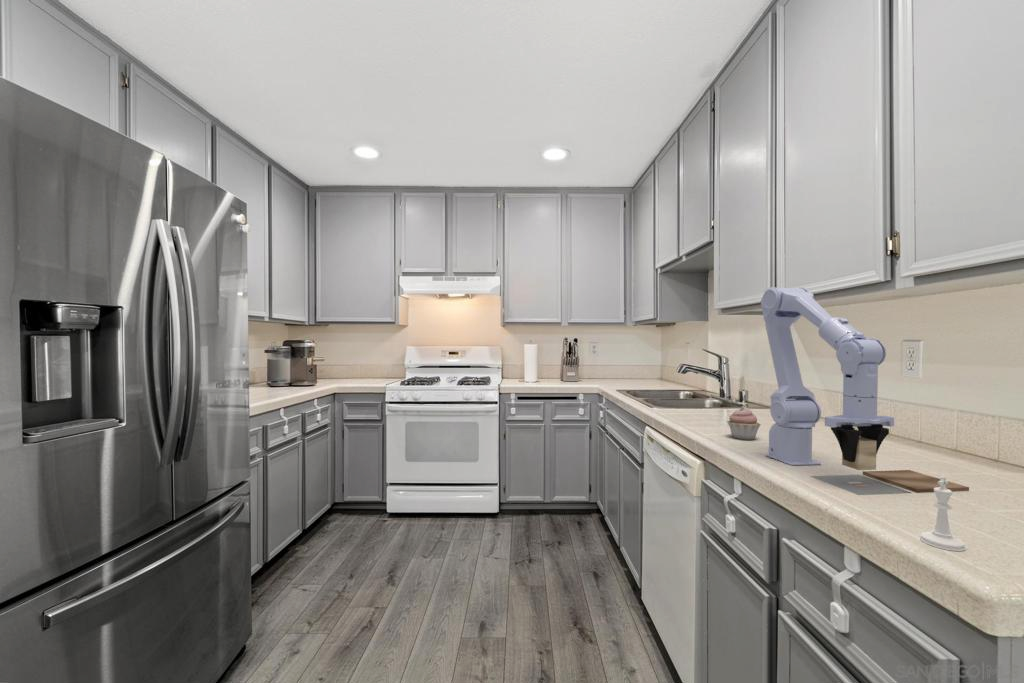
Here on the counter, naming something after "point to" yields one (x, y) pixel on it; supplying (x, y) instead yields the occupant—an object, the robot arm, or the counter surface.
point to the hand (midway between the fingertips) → (858, 460)
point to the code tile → (860, 484)
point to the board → (912, 480)
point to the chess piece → (942, 522)
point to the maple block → (863, 455)
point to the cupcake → (743, 424)
